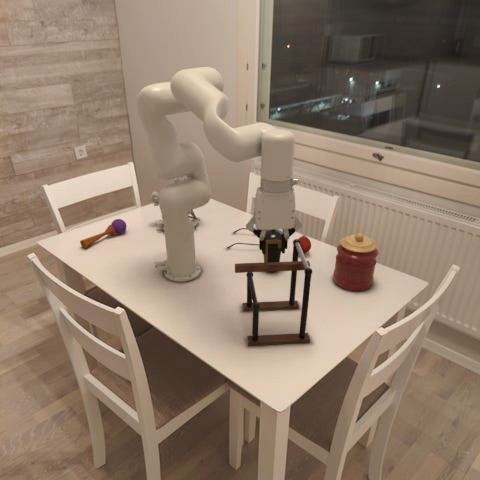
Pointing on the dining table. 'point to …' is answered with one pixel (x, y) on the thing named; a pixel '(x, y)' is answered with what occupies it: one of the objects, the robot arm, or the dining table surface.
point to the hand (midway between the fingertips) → (272, 250)
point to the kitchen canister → (355, 262)
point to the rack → (280, 306)
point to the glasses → (241, 243)
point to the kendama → (106, 232)
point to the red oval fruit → (305, 244)
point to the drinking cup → (273, 245)
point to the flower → (160, 222)
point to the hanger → (270, 263)
